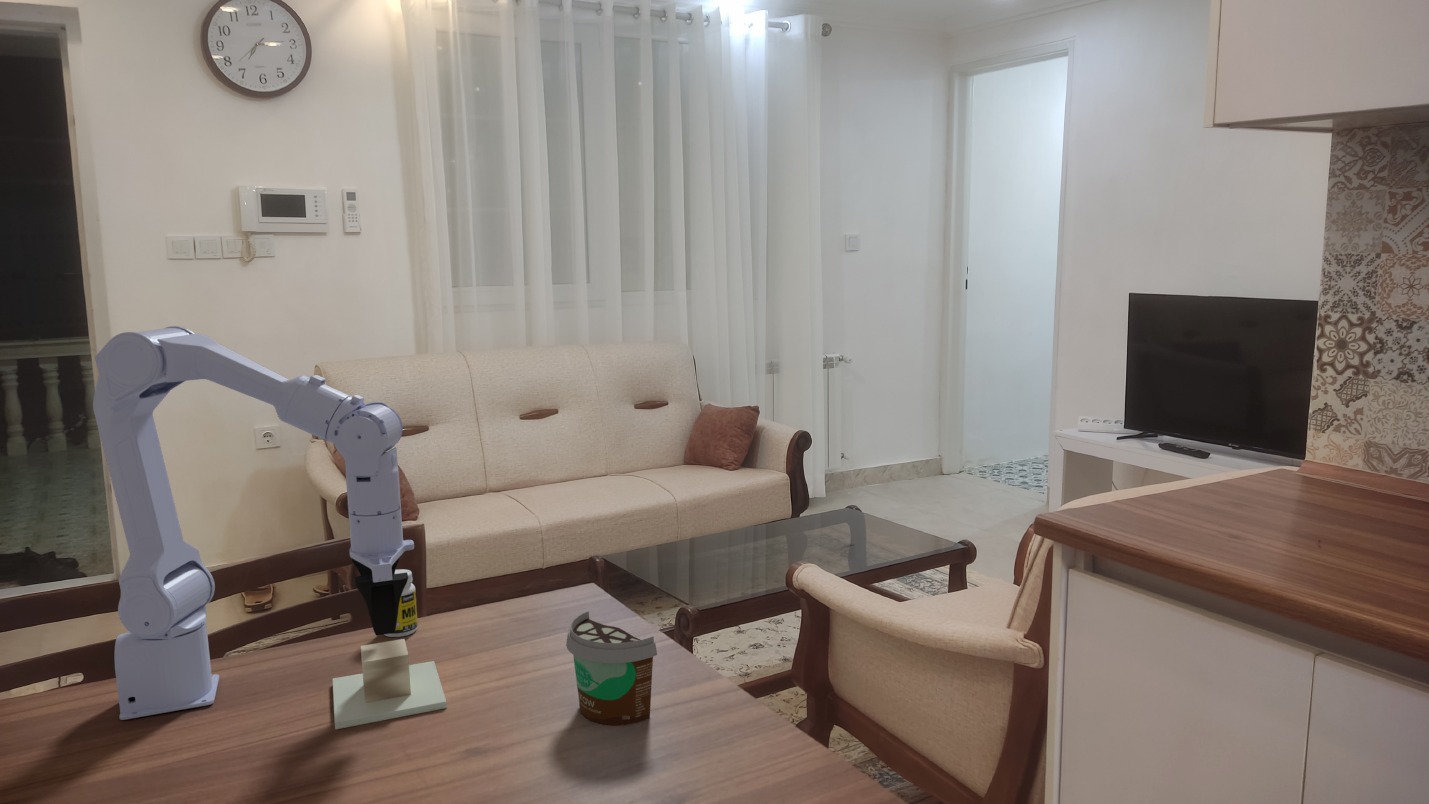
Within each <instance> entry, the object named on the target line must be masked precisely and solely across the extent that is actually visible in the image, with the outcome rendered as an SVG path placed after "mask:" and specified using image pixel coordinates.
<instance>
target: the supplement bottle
mask: <svg viewBox="0 0 1429 804" xmlns="http://www.w3.org/2000/svg"><path fill="white" fill-rule="evenodd" d="M406 572H407V574H408V580H407V583H406V585H405V587H404V590H403V592H402V595H401V598H400V603H399V609H398V617H397V624H396V629H395V633H391V634H384V635H383V636H385V637H388V638H389V637H390V638H401V637H407V636H410V635H411V634H414V633H415V632H416V631H417V629H418V626H419V625H418V612H417V595H416V592H417V591H416V586H415V584H413V580H414V579H413V572H412V571H411V570H410V569H406V568H405V569H402V568H401V569H400V568H399V569H396V570H395V574H399V573H406Z"/></svg>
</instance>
